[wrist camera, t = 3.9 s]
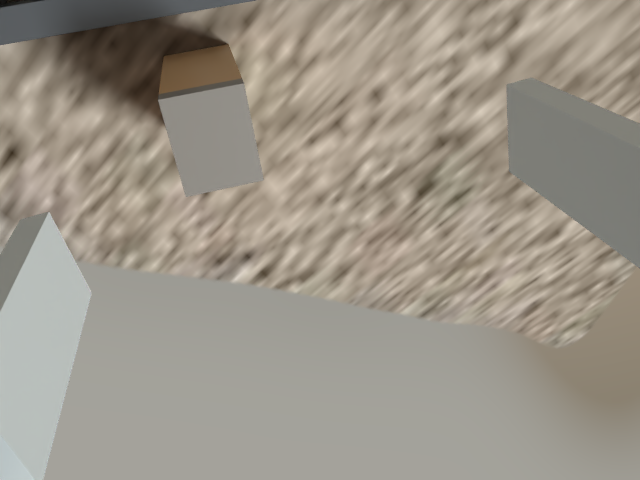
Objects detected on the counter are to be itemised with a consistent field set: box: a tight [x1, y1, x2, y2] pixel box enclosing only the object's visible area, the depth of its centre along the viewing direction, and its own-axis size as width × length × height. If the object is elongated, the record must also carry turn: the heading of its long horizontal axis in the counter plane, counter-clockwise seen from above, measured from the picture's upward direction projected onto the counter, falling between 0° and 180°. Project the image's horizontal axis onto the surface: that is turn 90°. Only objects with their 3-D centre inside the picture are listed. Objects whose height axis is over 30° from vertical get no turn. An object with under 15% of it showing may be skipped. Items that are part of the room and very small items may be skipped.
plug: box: [158, 44, 264, 197], centre depth 31 cm, size 4×5×10 cm
